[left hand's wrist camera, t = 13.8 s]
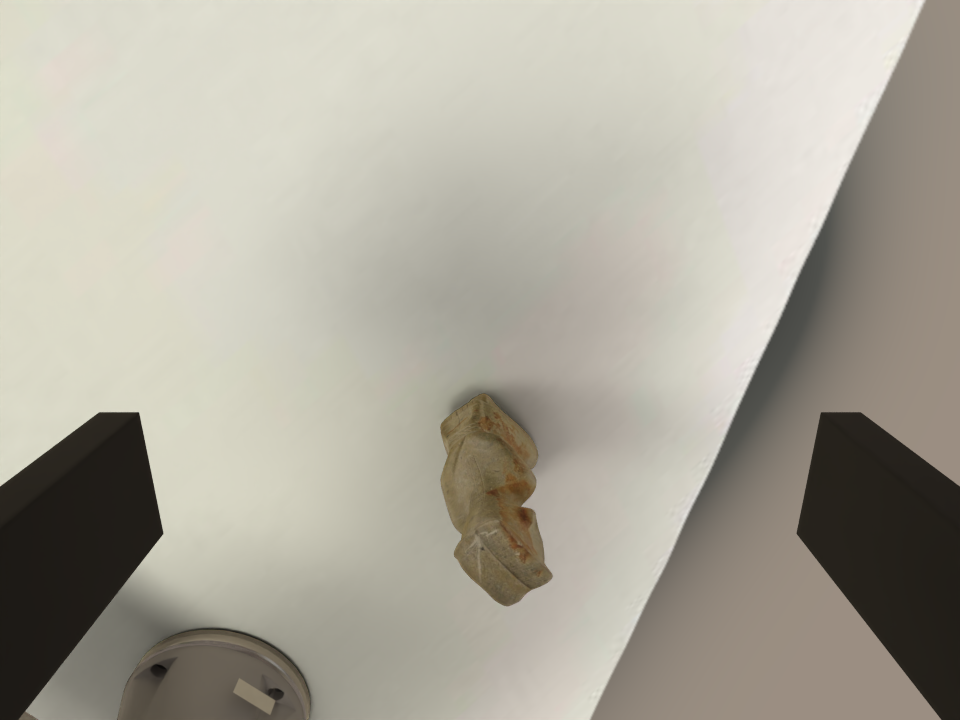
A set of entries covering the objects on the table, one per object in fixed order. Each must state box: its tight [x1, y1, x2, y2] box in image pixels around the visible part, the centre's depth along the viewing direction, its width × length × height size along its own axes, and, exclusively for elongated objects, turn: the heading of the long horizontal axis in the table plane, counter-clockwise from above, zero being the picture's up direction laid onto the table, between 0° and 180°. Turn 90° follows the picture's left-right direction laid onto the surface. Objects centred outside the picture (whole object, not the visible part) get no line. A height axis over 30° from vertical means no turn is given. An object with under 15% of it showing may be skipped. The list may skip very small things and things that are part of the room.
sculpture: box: [440, 394, 553, 606], centre depth 39 cm, size 6×7×15 cm
